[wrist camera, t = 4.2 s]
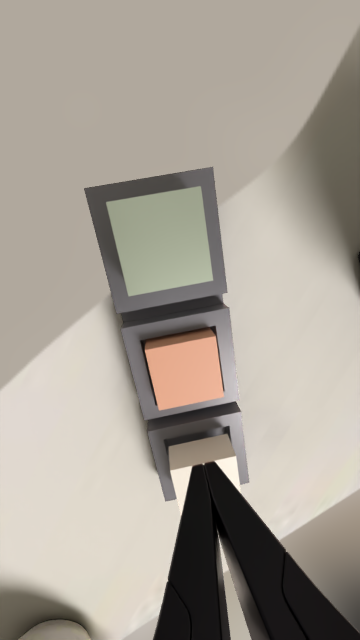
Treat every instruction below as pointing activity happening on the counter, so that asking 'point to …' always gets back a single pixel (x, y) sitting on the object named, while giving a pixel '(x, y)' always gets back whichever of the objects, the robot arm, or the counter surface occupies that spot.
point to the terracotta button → (184, 368)
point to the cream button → (201, 462)
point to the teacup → (56, 631)
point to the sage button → (161, 240)
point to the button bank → (174, 325)
